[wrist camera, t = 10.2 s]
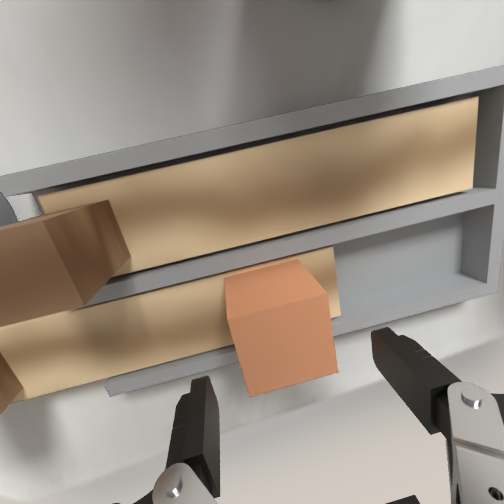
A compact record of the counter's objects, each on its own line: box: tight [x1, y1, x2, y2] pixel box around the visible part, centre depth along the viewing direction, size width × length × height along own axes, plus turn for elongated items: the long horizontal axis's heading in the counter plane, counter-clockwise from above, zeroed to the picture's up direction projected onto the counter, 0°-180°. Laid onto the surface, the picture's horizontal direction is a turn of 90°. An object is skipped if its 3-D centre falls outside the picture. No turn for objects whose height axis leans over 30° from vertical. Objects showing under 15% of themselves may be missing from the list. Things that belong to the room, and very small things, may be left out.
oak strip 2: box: [0, 245, 341, 414], centre depth 15 cm, size 6×26×9 cm, turn 102°
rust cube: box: [224, 259, 338, 397], centre depth 16 cm, size 5×5×5 cm
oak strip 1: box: [0, 96, 479, 327], centre depth 14 cm, size 6×26×8 cm, turn 102°
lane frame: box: [0, 65, 504, 397], centre depth 18 cm, size 15×30×2 cm, turn 102°
